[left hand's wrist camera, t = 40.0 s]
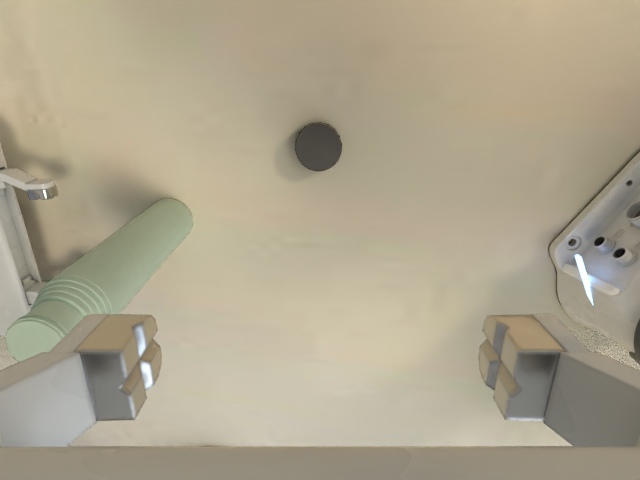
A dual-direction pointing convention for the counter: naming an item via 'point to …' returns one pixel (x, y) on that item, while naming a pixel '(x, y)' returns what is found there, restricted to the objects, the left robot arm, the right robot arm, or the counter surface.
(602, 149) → the counter surface
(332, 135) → the cap
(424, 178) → the counter surface
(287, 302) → the counter surface
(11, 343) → the bottle
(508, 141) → the counter surface
